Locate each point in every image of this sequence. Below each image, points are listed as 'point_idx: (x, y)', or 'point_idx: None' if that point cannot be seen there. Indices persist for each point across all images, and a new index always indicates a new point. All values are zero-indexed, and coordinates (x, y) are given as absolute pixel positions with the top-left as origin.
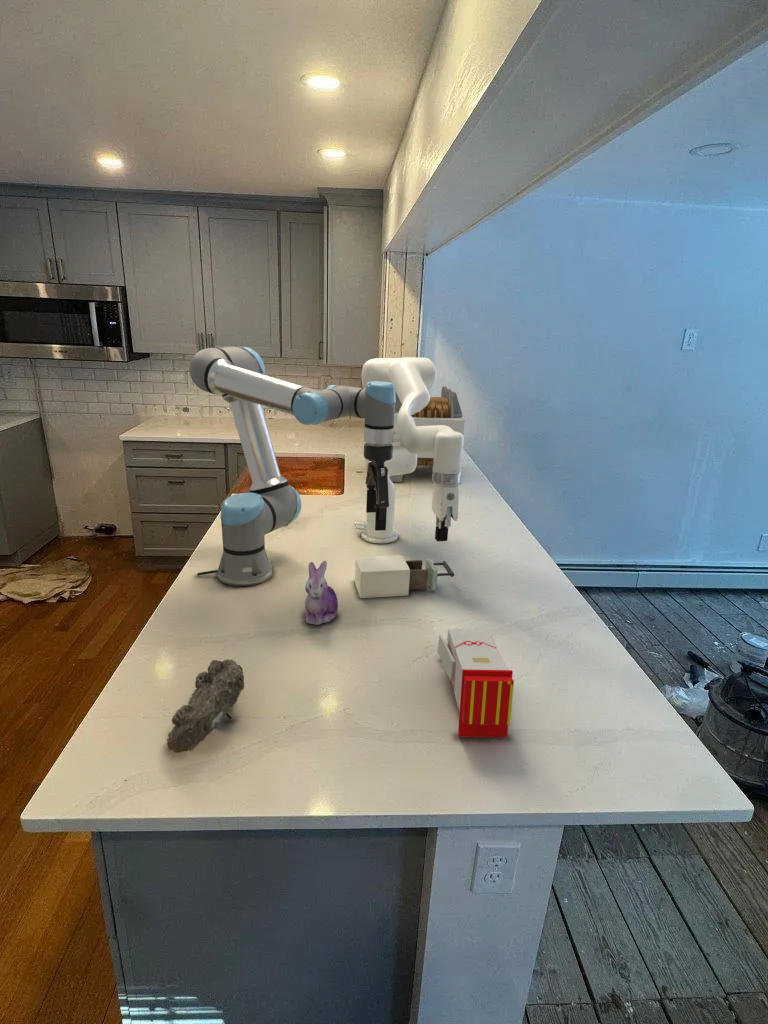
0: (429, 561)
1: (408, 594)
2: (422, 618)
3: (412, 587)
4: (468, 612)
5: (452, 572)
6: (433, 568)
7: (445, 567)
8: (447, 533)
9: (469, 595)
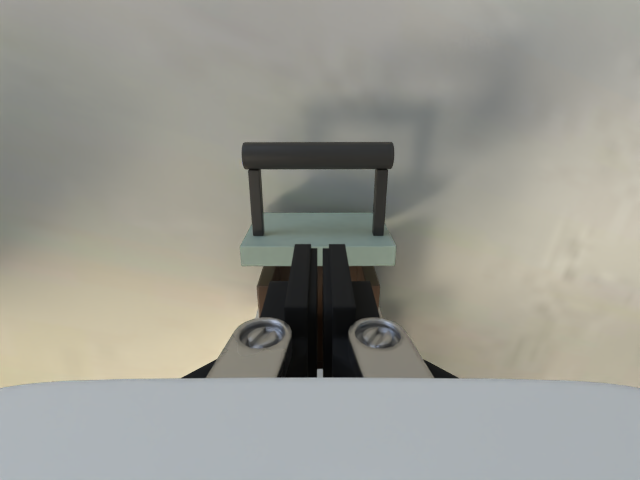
0: (287, 258)
1: (379, 308)
2: (538, 298)
3: None
4: (559, 126)
5: (391, 157)
6: (373, 260)
7: (308, 168)
8: (349, 276)
9: (427, 68)
